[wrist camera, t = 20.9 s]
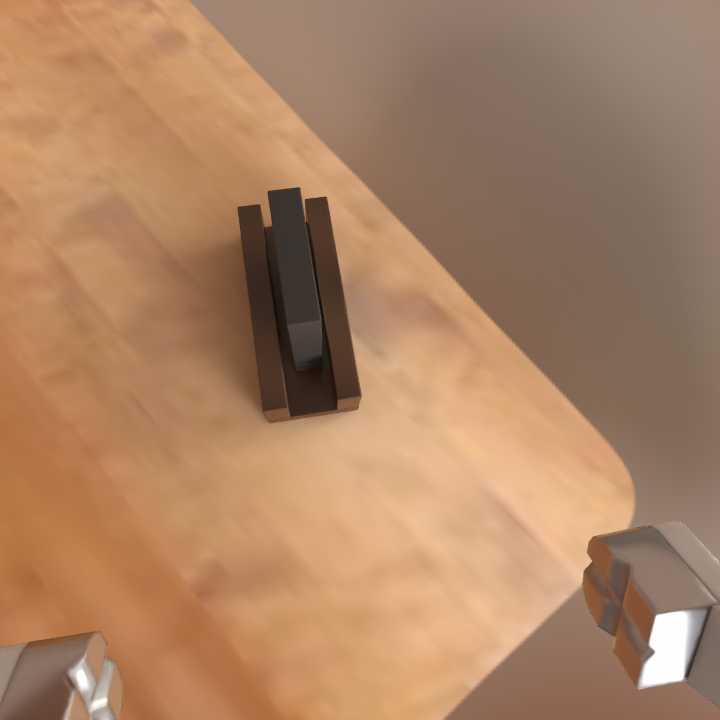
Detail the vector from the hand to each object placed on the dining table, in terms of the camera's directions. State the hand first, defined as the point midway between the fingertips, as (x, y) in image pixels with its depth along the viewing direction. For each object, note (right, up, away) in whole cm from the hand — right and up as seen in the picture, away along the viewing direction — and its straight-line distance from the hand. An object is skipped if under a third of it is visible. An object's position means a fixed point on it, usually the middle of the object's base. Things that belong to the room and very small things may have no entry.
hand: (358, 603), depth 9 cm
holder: (-4, +7, +30) cm, 31 cm away
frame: (-4, +7, +29) cm, 31 cm away
